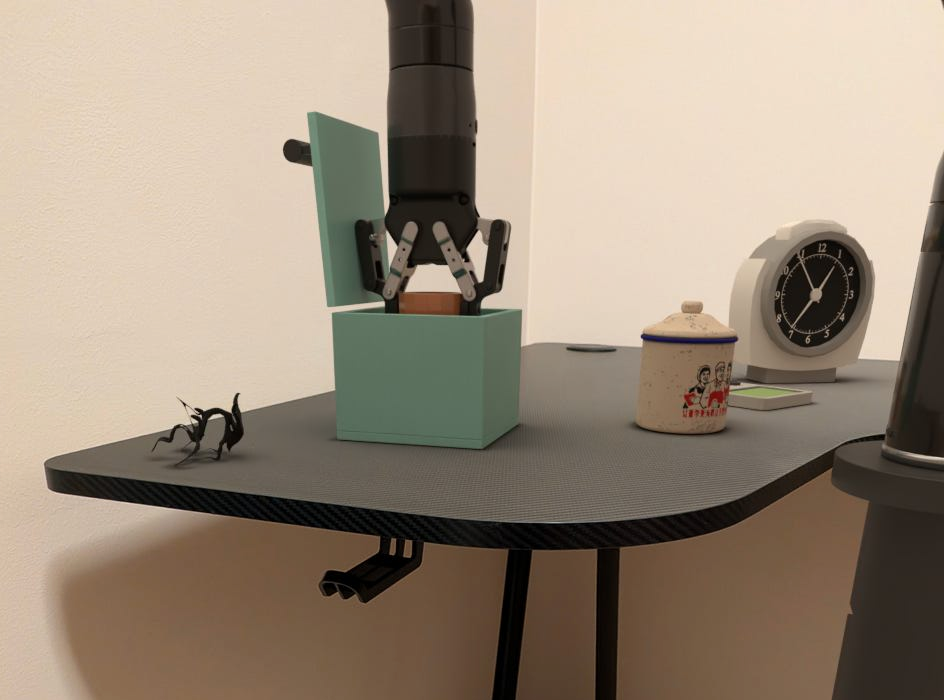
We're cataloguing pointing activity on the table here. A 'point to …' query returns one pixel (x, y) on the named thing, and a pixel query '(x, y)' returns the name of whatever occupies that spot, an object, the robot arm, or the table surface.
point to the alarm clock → (802, 303)
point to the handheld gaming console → (765, 396)
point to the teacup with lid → (685, 373)
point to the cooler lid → (342, 199)
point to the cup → (430, 303)
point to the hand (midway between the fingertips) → (433, 343)
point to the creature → (198, 431)
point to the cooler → (426, 376)
